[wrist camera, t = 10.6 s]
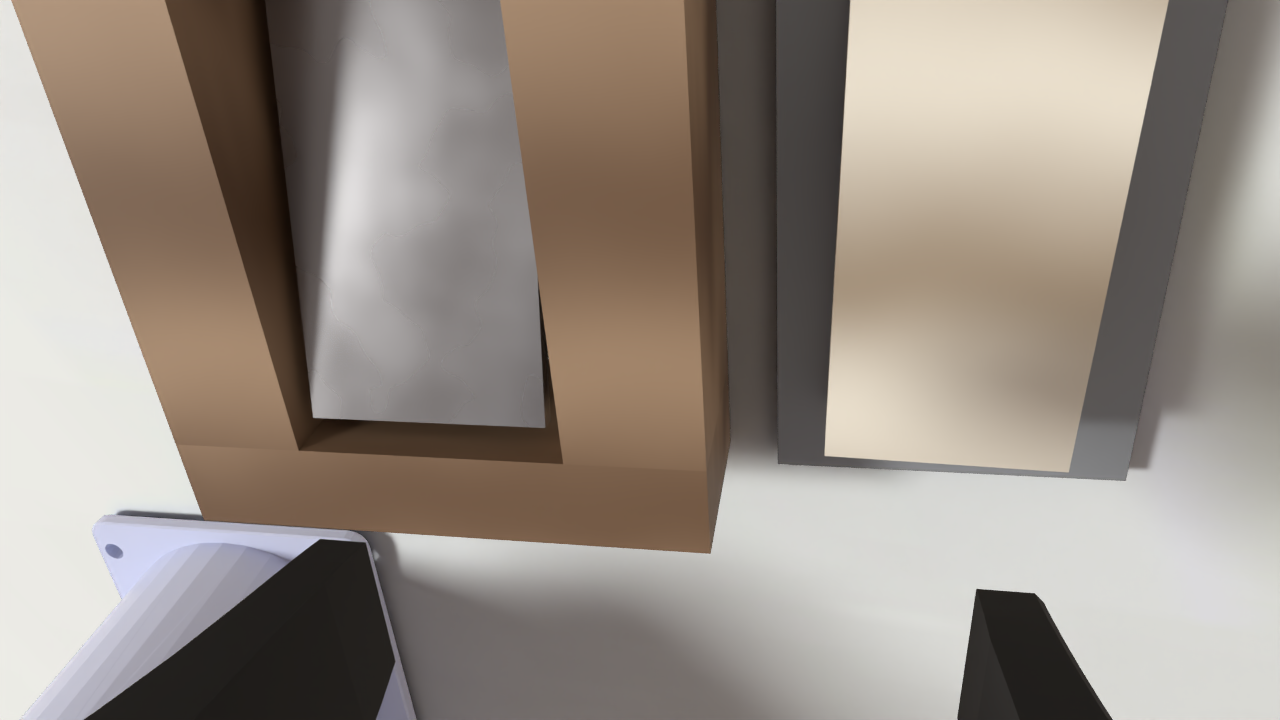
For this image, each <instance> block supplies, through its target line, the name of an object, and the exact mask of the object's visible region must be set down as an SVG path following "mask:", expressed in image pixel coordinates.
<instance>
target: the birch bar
mask: <svg viewBox="0 0 1280 720" xmlns="http://www.w3.org/2000/svg"><path fill="white" fill-rule="evenodd" d="M1168 2H1169V0H850V6H849V24H848V41H847V58H846V76H845V93H844V110H843V128H842V145H841V163H840V180H839V197H838V215H837V232H836V250H835V267H834V284H833V302H832V319H831V336H830V354H829V371H828V389H827V408H826V432H825V455H824V456H833V457H847V458H862V459H877V460H892V461H906V462H921V463H936V464H950V465H965V466H980V467H995V468H1009V469H1024V470H1039V471H1053V472H1068V473H1069V469H1070V464H1071V459H1072V455H1073V450H1074V445H1075V440H1076V436H1077V431H1078V426H1079V422H1080V417H1081V412H1082V407H1083V403H1084V398H1085V393H1086V389H1087V384H1088V379H1089V374H1090V370H1091V365H1092V360H1093V356H1094V351H1095V346H1096V341H1097V337H1098V332H1099V327H1100V322H1101V318H1102V313H1103V308H1104V304H1105V299H1106V294H1107V289H1108V285H1109V280H1110V275H1111V271H1112V266H1113V261H1114V256H1115V252H1116V247H1117V242H1118V238H1119V233H1120V228H1121V223H1122V219H1123V214H1124V209H1125V205H1126V200H1127V195H1128V190H1129V186H1130V181H1131V176H1132V171H1133V167H1134V162H1135V157H1136V153H1137V148H1138V143H1139V138H1140V134H1141V129H1142V124H1143V120H1144V115H1145V110H1146V105H1147V101H1148V96H1149V91H1150V87H1151V82H1152V77H1153V72H1154V68H1155V63H1156V58H1157V54H1158V49H1159V44H1160V39H1161V35H1162V30H1163V25H1164V20H1165V16H1166V11H1167V6H1168Z"/></svg>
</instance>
